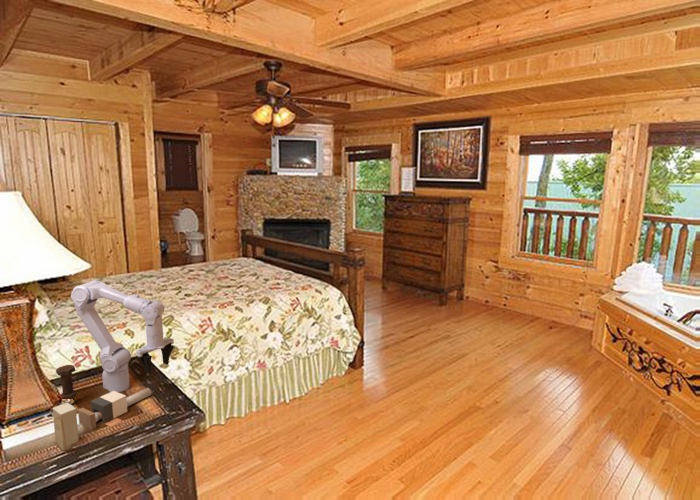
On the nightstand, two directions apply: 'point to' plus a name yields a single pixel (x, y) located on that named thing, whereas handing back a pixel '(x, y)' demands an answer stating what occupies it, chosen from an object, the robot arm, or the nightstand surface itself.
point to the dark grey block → (103, 408)
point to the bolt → (67, 381)
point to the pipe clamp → (91, 418)
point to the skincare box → (65, 425)
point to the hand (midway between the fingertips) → (157, 367)
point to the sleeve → (117, 402)
